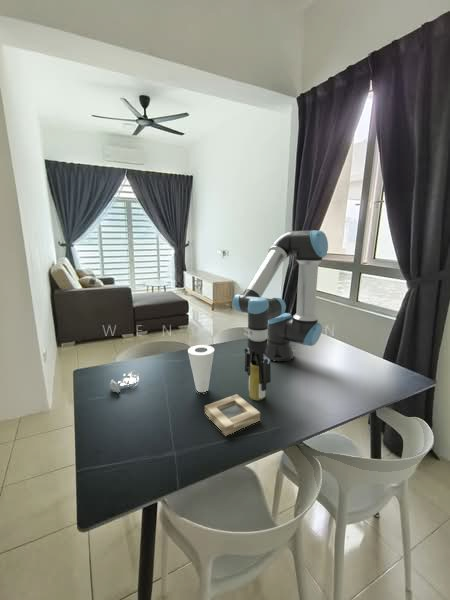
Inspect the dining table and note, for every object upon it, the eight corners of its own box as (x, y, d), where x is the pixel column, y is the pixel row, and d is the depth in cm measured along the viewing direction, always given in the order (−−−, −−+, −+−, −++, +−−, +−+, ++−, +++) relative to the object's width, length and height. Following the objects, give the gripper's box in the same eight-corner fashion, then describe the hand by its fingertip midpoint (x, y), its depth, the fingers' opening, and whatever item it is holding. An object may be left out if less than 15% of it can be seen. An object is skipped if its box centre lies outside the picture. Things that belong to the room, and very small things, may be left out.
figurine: (105, 379, 120) (132, 366, 126) (110, 392, 121) (136, 379, 128) (112, 386, 112) (140, 373, 119) (117, 400, 114) (144, 386, 121)
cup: (195, 400, 111) (193, 357, 107) (185, 387, 121) (184, 347, 117) (219, 393, 116) (218, 351, 112) (208, 381, 125) (207, 343, 121)
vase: (263, 401, 110) (264, 367, 107) (248, 399, 111) (248, 366, 108) (264, 393, 116) (265, 360, 113) (249, 391, 117) (250, 359, 114)
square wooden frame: (204, 414, 102) (204, 405, 102) (236, 402, 110) (236, 394, 109) (225, 436, 91) (225, 427, 90) (260, 421, 98) (260, 412, 97)
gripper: (235, 333, 114) (235, 386, 119) (266, 348, 99) (264, 408, 104) (250, 330, 118) (249, 381, 123) (282, 343, 102) (280, 401, 107)
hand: (256, 393), depth 113 cm, fingers closed on vase, 6 cm apart
